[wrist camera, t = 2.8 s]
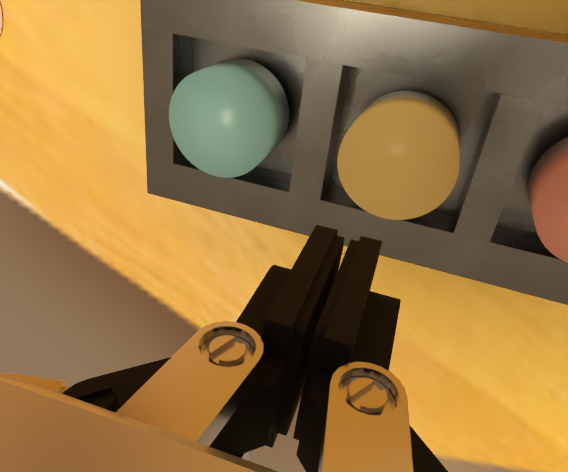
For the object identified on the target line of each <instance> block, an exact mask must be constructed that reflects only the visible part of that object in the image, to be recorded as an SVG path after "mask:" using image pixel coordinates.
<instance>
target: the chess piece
mask: <svg viewBox="0 0 568 472" xmlns="http://www.w3.org/2000/svg"><path fill="white" fill-rule="evenodd" d="M2 23H3V19H2V9H1V5H0V34H1V31H2Z"/></svg>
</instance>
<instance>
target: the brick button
mask: <svg viewBox="0 0 568 472" xmlns="http://www.w3.org/2000/svg"><path fill="white" fill-rule="evenodd" d="M527 194H528V200H529V204H530V208H531V212H532V216H533V220H534V224H535V227H536V231H537V234H538V236H539V238H540V240H541V242H542V243H543V244H544V246H545V247H546V248H547V249H548V250H549V251H550V252H551V253H552V254H553V255H555V256H556V257H557V258H559V259H561V260H563V261H564V262H567V263H568V137H566V138H564V139H562V140H561V141H559V142H557V143H556V144H554V145H553V146H552V147H550V148H549V149H548V150H547V151H546V152H545V153H544V154H543V155H542V156H541V157H540V158H539V160H538V161H537V163H536V164H535V166H534V167H533V169H532V171H531V174H530V177H529V181H528V187H527Z"/></svg>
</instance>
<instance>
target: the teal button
mask: <svg viewBox="0 0 568 472" xmlns="http://www.w3.org/2000/svg"><path fill="white" fill-rule="evenodd" d="M169 123H170V129H171V132H172V135H173V138H174V140H175V142H176V144H177V146H178V148H179V149H180V151H181V152H182V154H183V155H184V156H185V157H186V158H187V160H189V161H190V162H191V163H192V164H193V165H194V166H196V167H197V168H198V169H200V170H202V171H203V172H205V173H208V174H210V175H213V176H217V177H223V178H231V177H237V176H241V175H244V174H246V173H248V172H249V171H251V170H252V169H254V168H255V167H256V166H257V165H258V164H259V163H260V162H261V161H262V160H263V159H264V158H265V157H267V156H268V155H269V154H270V153H271V152H272V151H273V150H274V149H275V148H276V147H277V146H278V145H279V144H280V142H281V141H282V139H283V138H284V136H285V133H286V131H287V128H288V123H289V106H288V101H287V98H286V95H285V92H284V90H283V88H282V86H281V85H280V83H279V81H278V80H277V79H276V78H275V76H274V75H273V74H272V73H271V72H270V71H269V70H267V69H266V68H265V67H263V66H262V65H260V64H258V63H256V62H254V61H251V60H247V59H241V58H233V59H227V60H224V61H221V62H219V63H216V64H214V65H211V66H209V67H206V68H204V69H201V70H198V71H196V72H193V73H192V74H190V75H188V76H187V77H185V78H184V79H183V80H182V81H181V82H180V83H179V84H178V86H177V87H176V89H175V91H174V93H173V95H172V98H171V101H170V106H169Z"/></svg>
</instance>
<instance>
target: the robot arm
mask: <svg viewBox="0 0 568 472" xmlns="http://www.w3.org/2000/svg"><path fill="white" fill-rule="evenodd" d="M337 235H338V230H336V229H332V228H328V227H324V226H320V225H316V226H315V228H314V230H313V232H312V233H311V235H310V237H309V239H308V241H307V242H306V244H305V246H304V248H303V250H302V251H301V253H300V255H299V257H298V259H297V260H296V262H295V264H294V266H293V268H292V269H287V268H283V267H280V266H276V265H273V266H272V267H271V268H270V269H269V271H268V272H267V274H266V276H265V277H264V279H263V280H262V282H261V283H260V285H259V287H258V288H257V290H256V291H255V293H254V295H253V296H252V298H251V299H250V301H249V303H248V304H247V306H246V307H245V309H244V310H243V312H242V314H241V315H240V317H239V318H238V320H237V322H228V321H223V322H216V323H212V324H210V325H207V326H205V327H203V328H202V329H200V330H199V331H198V332H197V333H196V334H195V335H194V336H193V337H191V339H189V340H188V341H187V343H185V345H183V346H182V347H181V348H180V350H178V351H177V352H176V353H175V354H174V355H173V356H172V357H170V358H166V359H163V360H159V361H155V362H151V363H147V364H143V365H140V366H136V367H132V368H129V369H124V370H121V371H117V372H113V373H109V374H105V375H102V376H98V377H94V378H91V379H87V380H84V381H82V382H79V383H77V384H75V385H73V386H72V387H65V381H63V380H55V379H47V378H39V377H32V376H24V375H16V374H8V373H0V472H277V471H274V470H272V469H269V468H266V467H263V466H261V465H258V464H255V463H253V462H250V461H248V459H249V457H250V452H251V450H254V449H257V448H259V447H262V446H265V445H267V446H269V447H273V445H274V442H275V439H276V437H277V434H278V433H280V434H282V435H287V433H288V430H289V428H290V425H291V422H292V420H293V417H294V414H295V411H296V409H297V406H298V403H299V401H300V398H301V401H300V406H299V411H298V416H297V422H296V426H295V432H294V437H293V438H294V439H297V440H299V445H298V450H297V457H298V458H299V460H300V462H301V464H302V465H303V467H304V469H305V470H306V472H448V471H447V470H446V469H445V467H444V466H443V465H442V464H441V463H440V461H439V460H438V459H437V458H436V457H435V455H434V454H433V453H432V452H431V451H430V449H429V448H428V447H427V446H426V444H425V443H424V442H423V441H422V440H421V438H420V437H419V436H418V435H417V434H416V432H415V431H414V430H413V429H412V428H411V426H410V424H409V412H408V400H407V395H406V391H405V388H404V387H403V385H402V384H401V382H400V381H399V379H398V378H397V377H395V376H394V375H393V374H392V373H391V372H390V371H389V365H390V359H391V354H392V348H393V342H394V336H395V330H396V325H397V319H398V313H399V307H400V299H396V298H393V297H389V296H385V295H382V294H378V293H374V292H371V291H370V288H371V284H372V280H373V276H374V272H375V268H376V265H377V261H378V257H379V253H380V249H381V245H382V241H380V240H376V239H372V238H368V237H364V236H361V237H360V239H359V241H357V240H353V239H351V240H350V243H349V245H348V248H347V251H346V253H345V256H344V258H343V261H342V263H341V266H340V268H339V264H340V259H341V254H342V250H343V245H344V239H345V237H341V236H337ZM338 269H339V271H338Z"/></svg>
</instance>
